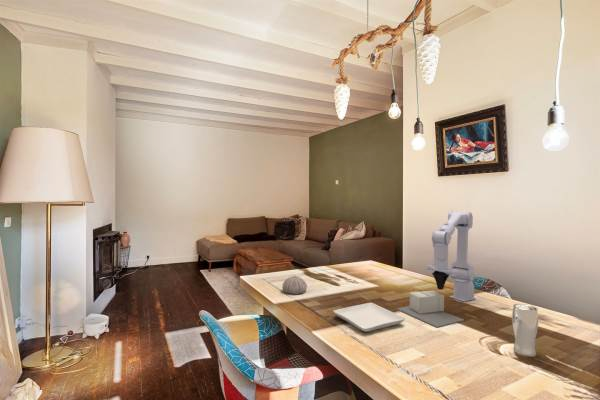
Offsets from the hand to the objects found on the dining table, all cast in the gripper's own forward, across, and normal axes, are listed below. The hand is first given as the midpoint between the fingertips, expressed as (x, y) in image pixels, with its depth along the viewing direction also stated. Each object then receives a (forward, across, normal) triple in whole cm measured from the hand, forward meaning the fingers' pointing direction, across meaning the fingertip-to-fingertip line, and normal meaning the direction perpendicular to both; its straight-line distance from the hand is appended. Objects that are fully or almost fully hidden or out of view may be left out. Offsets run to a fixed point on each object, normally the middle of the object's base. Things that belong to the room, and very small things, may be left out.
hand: (440, 288), depth 140 cm
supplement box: (+6, -3, +2) cm, 7 cm away
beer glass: (+11, +37, -5) cm, 39 cm away
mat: (+10, 0, -7) cm, 13 cm away
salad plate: (+11, -6, -35) cm, 37 cm away
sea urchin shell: (+11, -55, -45) cm, 72 cm away
